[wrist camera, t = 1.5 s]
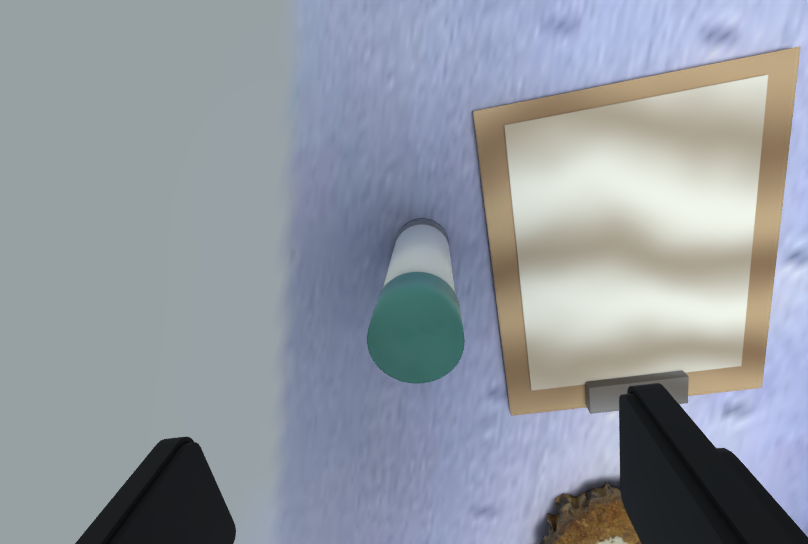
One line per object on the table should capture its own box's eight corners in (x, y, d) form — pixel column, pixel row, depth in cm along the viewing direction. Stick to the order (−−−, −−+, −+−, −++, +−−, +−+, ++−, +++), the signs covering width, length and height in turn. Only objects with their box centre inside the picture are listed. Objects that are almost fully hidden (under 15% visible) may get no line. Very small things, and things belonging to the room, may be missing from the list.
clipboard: (755, 382, 28) (772, 396, 27) (509, 409, 30) (513, 424, 28) (790, 48, 21) (815, 43, 20) (472, 111, 23) (475, 111, 22)
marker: (453, 265, 26) (470, 377, 15) (400, 273, 27) (377, 388, 16) (445, 212, 25) (456, 290, 14) (389, 221, 26) (357, 305, 14)
